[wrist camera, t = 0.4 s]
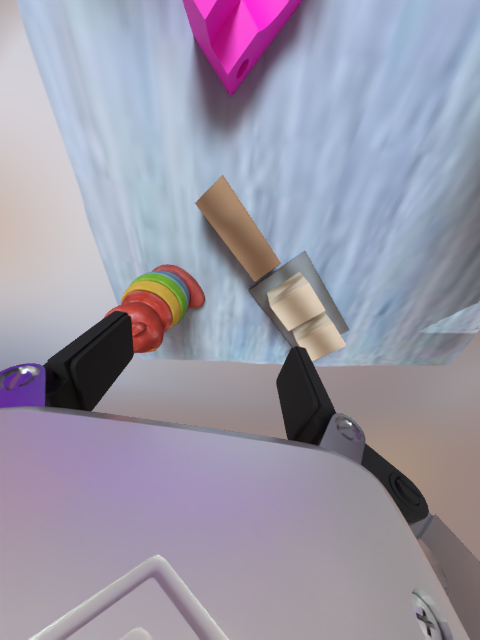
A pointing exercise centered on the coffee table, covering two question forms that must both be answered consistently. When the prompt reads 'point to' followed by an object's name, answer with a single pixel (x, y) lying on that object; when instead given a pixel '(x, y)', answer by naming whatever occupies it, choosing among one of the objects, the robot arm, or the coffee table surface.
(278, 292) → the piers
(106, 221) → the coffee table surface
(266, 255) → the lintel
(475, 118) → the coffee table surface
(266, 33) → the toy block
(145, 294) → the stacking bear
